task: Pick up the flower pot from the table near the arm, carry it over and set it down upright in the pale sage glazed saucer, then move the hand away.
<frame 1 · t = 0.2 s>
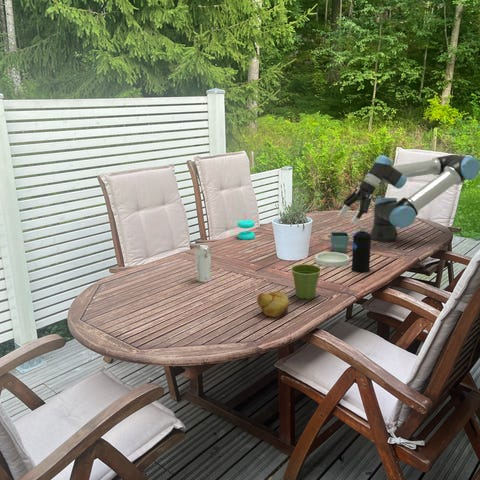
hand: (346, 219, 226), 16 cm above the table, tool tilted 35°, fingers open, 13 cm apart
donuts: (246, 238, 257), on the table
flower pot: (339, 251, 228), on the table
saucer: (331, 261, 212), on the table
beer glass: (204, 280, 193), on the table
plant pot: (305, 296, 173), on the table
aerosol can: (360, 269, 200), on the table
bread roll: (276, 312, 160), on the table
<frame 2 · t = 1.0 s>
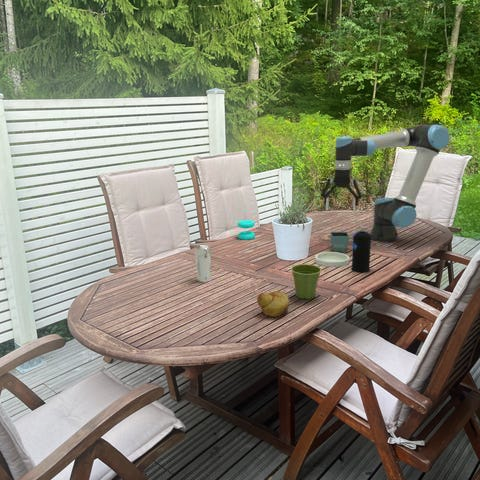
hand: (340, 211, 222), 21 cm above the table, tool pointing down, fingers open, 13 cm apart
nothing on the table moved.
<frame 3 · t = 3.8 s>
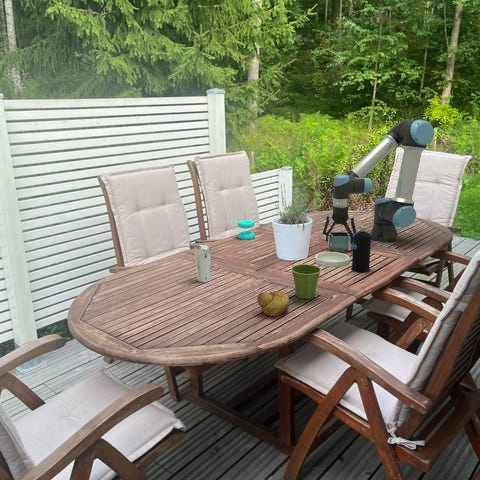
hand: (339, 248, 228), 1 cm above the table, tool pointing down, fingers closed on flower pot, 10 cm apart
flower pot: (338, 251, 228), on the table, touching gripper
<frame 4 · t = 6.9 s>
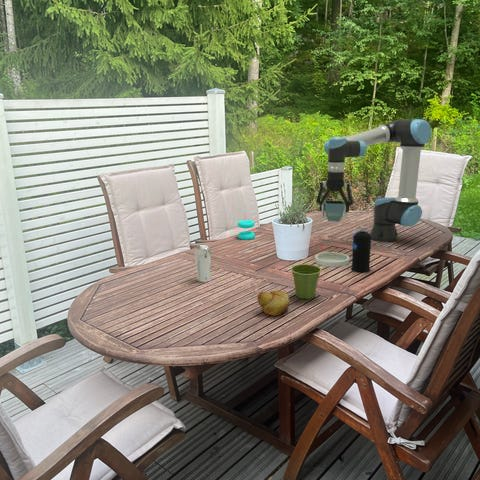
hand: (333, 218, 210), 20 cm above the table, tool pointing down, fingers closed on flower pot, 10 cm apart
flower pot: (333, 221, 210), point 19 cm above the table, touching gripper
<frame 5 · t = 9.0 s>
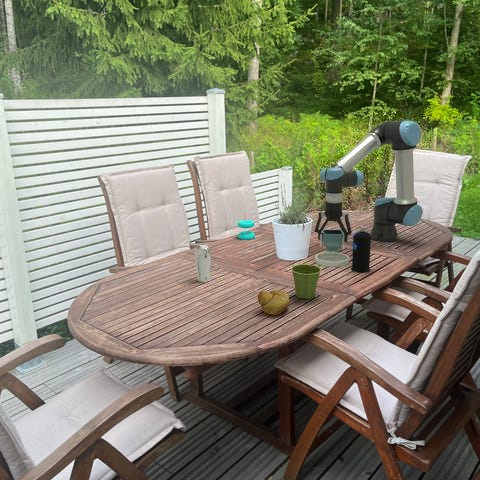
hand: (332, 247, 210), 7 cm above the table, tool pointing down, fingers closed on flower pot, 10 cm apart
flower pot: (332, 250, 211), point 6 cm above the table, touching gripper
when the fingers open (4 cm above the table, at t = 10.5 s): flower pot drops 2 cm, resting on saucer.
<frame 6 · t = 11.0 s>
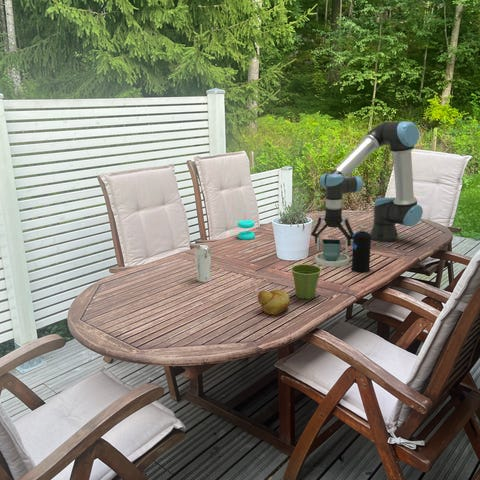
hand: (332, 251, 211), 5 cm above the table, tool pointing down, fingers open, 13 cm apart
flower pot: (330, 259, 212), point 1 cm above the table, touching saucer
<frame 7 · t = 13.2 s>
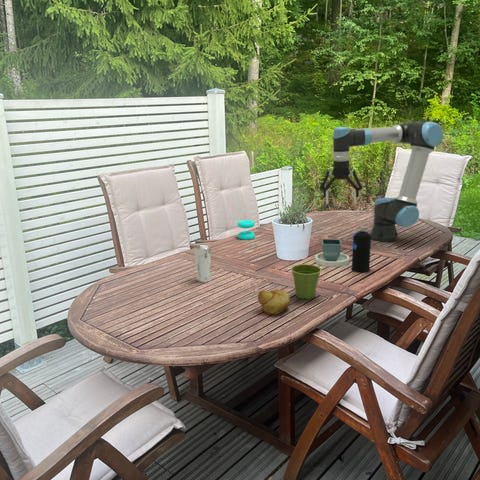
hand: (341, 203, 217), 26 cm above the table, tool pointing down, fingers open, 13 cm apart
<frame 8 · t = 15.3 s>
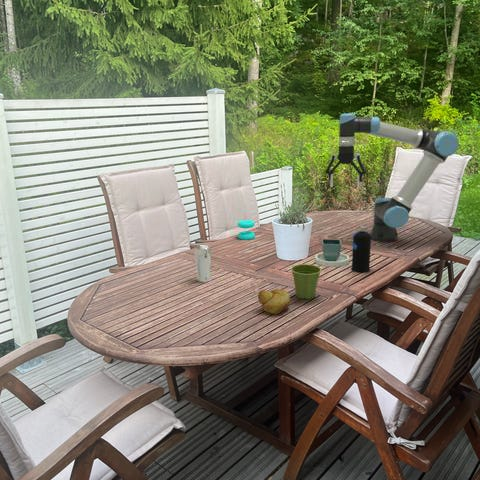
hand: (344, 187, 227), 32 cm above the table, tool pointing down, fingers open, 13 cm apart
at the end: flower pot 0.7 cm from the saucer (horizontally); flower pot tilted 0°; flower pot touching saucer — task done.
